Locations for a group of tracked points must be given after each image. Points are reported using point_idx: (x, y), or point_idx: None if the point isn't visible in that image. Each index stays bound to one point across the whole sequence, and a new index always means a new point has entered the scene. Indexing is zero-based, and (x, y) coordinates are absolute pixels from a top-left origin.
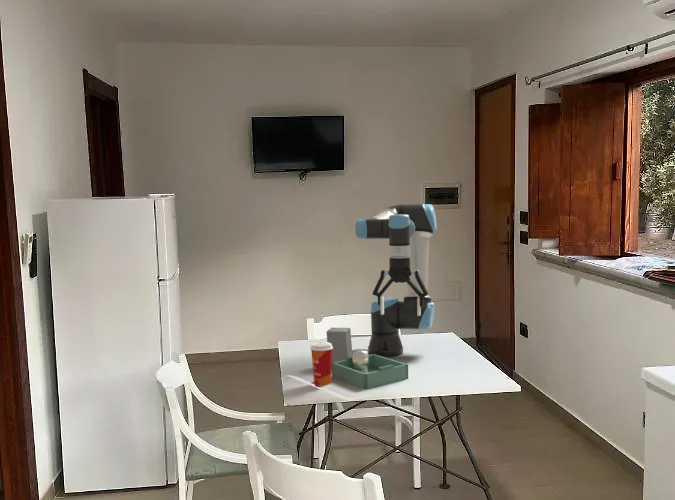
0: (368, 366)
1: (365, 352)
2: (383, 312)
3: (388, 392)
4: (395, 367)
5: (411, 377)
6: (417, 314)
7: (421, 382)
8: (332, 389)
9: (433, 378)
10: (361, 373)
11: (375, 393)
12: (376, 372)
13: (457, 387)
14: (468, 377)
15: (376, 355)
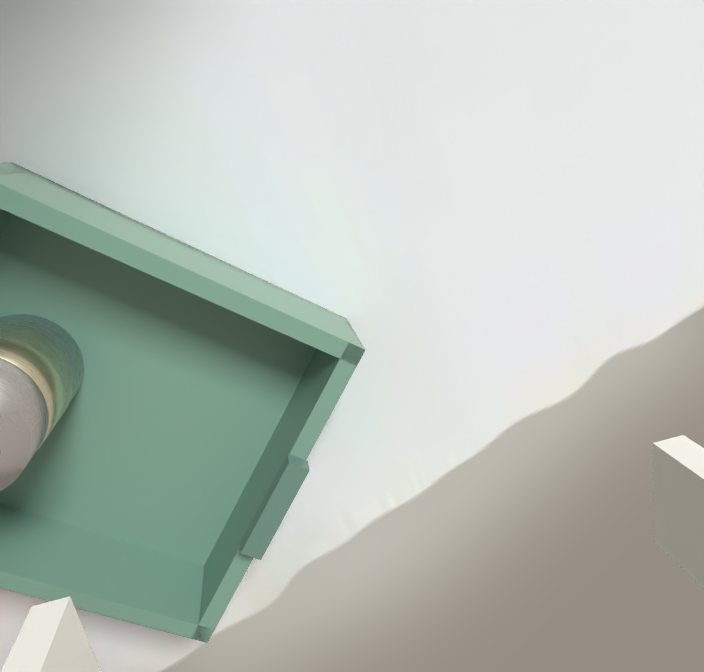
0: (66, 371)
1: (28, 459)
2: (81, 666)
3: (326, 536)
4: (313, 445)
5: (341, 252)
6: (668, 553)
7: (426, 321)
8: None
9: (469, 220)
10: (176, 633)
11: (274, 574)
12: (244, 569)
13: (618, 326)
14: (653, 118)
15: (14, 204)
